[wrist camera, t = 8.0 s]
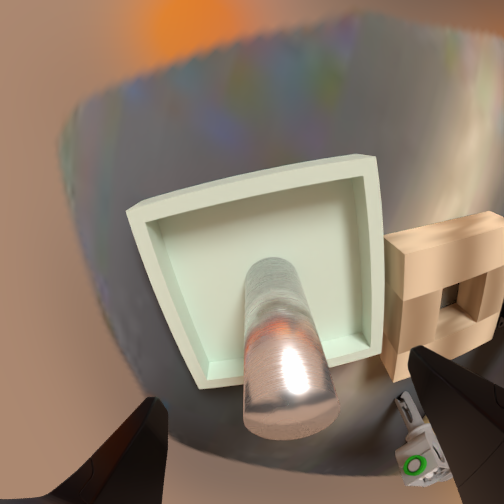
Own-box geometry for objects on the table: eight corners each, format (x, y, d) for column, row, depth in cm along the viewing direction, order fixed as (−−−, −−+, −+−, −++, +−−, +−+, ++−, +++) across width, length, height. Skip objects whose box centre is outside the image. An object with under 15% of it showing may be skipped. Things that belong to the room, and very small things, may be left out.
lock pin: (294, 252, 15) (340, 377, 7) (301, 298, 16) (339, 429, 8) (239, 263, 16) (232, 397, 7) (251, 308, 17) (254, 445, 8)
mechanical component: (409, 417, 24) (439, 487, 14) (363, 389, 21) (398, 486, 12) (430, 400, 23) (466, 469, 14) (390, 368, 20) (436, 464, 11)
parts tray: (356, 153, 14) (375, 156, 12) (368, 330, 19) (381, 353, 16) (142, 200, 15) (125, 210, 13) (203, 364, 19) (199, 389, 17)
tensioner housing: (489, 210, 15) (515, 222, 12) (473, 320, 19) (491, 339, 16) (381, 235, 16) (404, 254, 13) (379, 356, 20) (393, 382, 17)
